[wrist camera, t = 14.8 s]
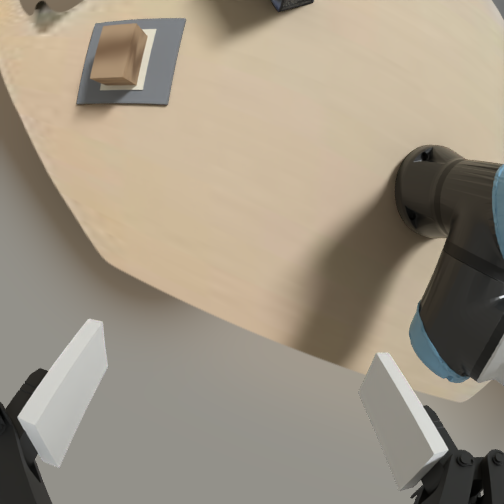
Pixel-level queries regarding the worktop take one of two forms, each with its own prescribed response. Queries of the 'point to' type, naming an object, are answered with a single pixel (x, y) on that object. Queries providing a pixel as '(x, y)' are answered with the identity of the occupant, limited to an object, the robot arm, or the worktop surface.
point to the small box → (289, 4)
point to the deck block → (119, 55)
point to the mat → (151, 71)
